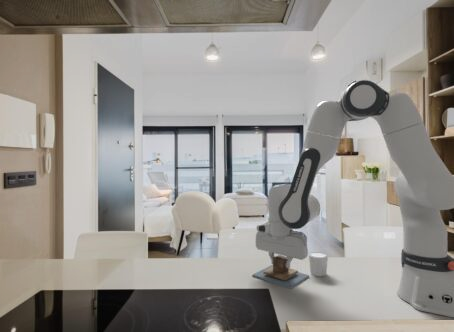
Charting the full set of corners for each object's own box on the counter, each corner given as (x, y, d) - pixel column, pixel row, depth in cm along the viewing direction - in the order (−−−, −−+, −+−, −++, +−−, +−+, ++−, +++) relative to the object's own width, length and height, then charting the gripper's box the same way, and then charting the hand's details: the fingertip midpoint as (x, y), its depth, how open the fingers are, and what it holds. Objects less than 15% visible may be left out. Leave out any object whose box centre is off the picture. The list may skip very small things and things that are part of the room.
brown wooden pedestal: (297, 272, 106) (297, 257, 106) (285, 280, 100) (284, 263, 100) (276, 266, 112) (276, 252, 112) (263, 273, 106) (263, 257, 106)
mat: (309, 276, 106) (309, 275, 106) (291, 288, 96) (291, 287, 96) (272, 266, 116) (272, 265, 116) (252, 276, 107) (252, 274, 107)
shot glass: (305, 271, 111) (304, 253, 110) (318, 268, 114) (318, 250, 113) (317, 278, 104) (317, 258, 104) (332, 274, 107) (332, 256, 107)
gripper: (310, 231, 101) (311, 270, 101) (262, 223, 115) (262, 257, 115) (302, 234, 96) (302, 275, 97) (253, 225, 110) (253, 262, 110)
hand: (280, 265), depth 106 cm, fingers closed on brown wooden pedestal, 4 cm apart
